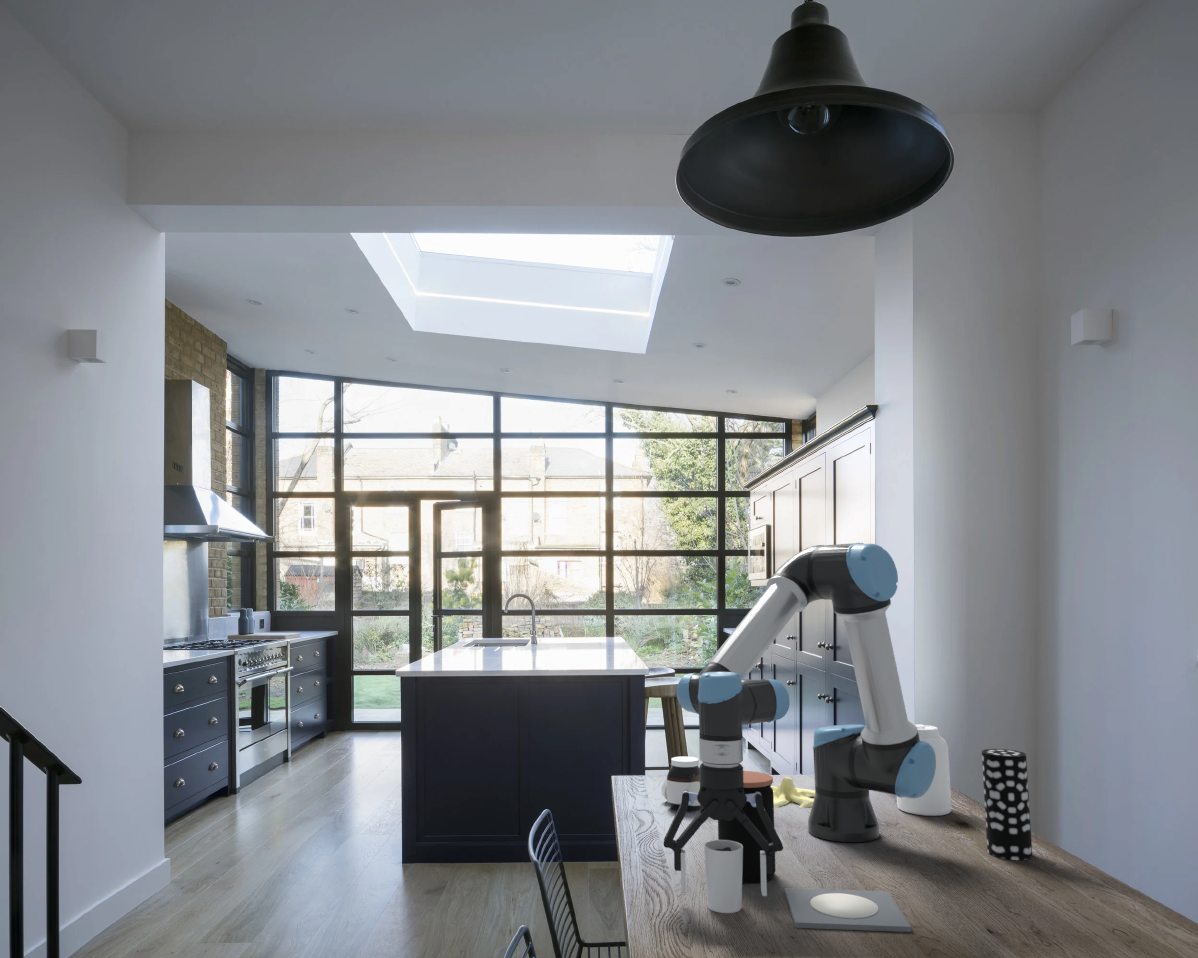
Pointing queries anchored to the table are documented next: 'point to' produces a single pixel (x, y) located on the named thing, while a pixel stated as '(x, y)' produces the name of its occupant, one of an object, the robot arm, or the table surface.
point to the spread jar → (682, 781)
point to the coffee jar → (741, 835)
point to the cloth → (792, 794)
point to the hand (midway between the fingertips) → (723, 891)
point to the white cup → (724, 875)
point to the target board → (845, 910)
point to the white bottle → (939, 791)
